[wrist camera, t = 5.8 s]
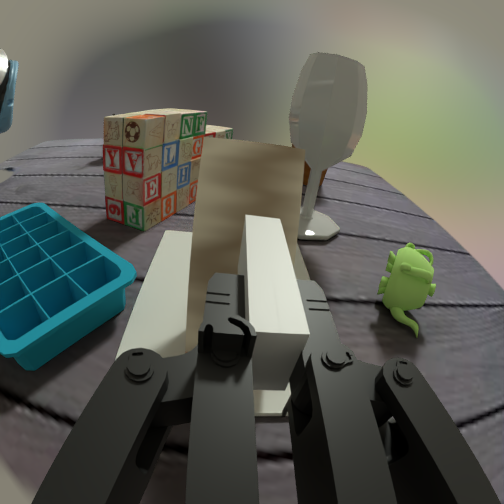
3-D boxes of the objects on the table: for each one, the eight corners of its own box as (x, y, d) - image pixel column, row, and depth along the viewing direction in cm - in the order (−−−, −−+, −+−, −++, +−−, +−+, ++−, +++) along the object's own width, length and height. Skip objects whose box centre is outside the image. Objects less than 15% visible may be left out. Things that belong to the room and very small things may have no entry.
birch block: (185, 356, 14) (203, 136, 13) (193, 324, 19) (208, 158, 18) (280, 362, 15) (305, 149, 14) (266, 330, 19) (284, 167, 19)
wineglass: (350, 237, 35) (390, 74, 25) (298, 248, 31) (339, 48, 20) (307, 209, 41) (336, 67, 31) (256, 214, 37) (283, 49, 26)
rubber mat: (106, 398, 13) (104, 395, 13) (165, 233, 30) (165, 230, 30) (347, 411, 15) (350, 408, 14) (296, 246, 31) (297, 242, 31)
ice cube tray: (44, 223, 28) (40, 200, 26) (147, 304, 20) (144, 272, 19) (-34, 261, 19) (-41, 237, 17) (23, 392, 11) (1, 362, 10)
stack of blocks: (195, 175, 49) (202, 106, 42) (228, 183, 47) (237, 110, 41) (105, 219, 31) (102, 115, 25) (144, 233, 29) (145, 116, 23)
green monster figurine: (416, 338, 21) (448, 284, 18) (363, 313, 23) (388, 256, 20) (422, 302, 25) (446, 254, 22) (377, 281, 28) (397, 231, 25)
